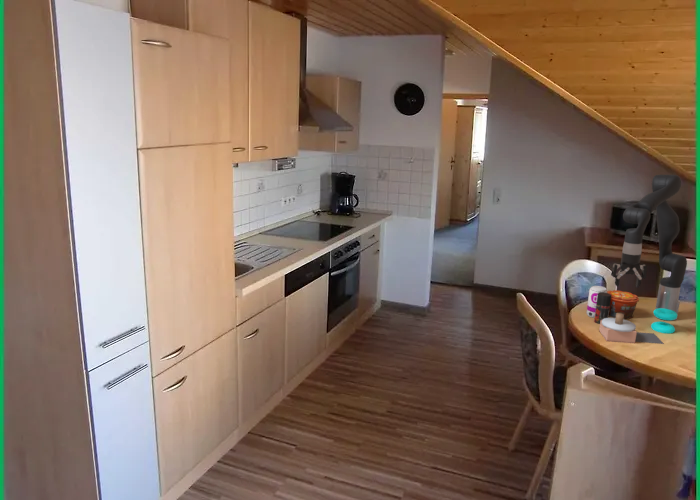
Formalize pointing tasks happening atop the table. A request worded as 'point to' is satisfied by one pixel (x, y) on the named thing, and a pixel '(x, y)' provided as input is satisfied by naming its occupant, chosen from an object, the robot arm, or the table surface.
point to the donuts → (665, 315)
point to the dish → (617, 335)
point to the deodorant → (602, 306)
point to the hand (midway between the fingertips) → (627, 286)
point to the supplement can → (593, 299)
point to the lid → (619, 323)
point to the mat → (647, 338)
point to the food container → (622, 303)
